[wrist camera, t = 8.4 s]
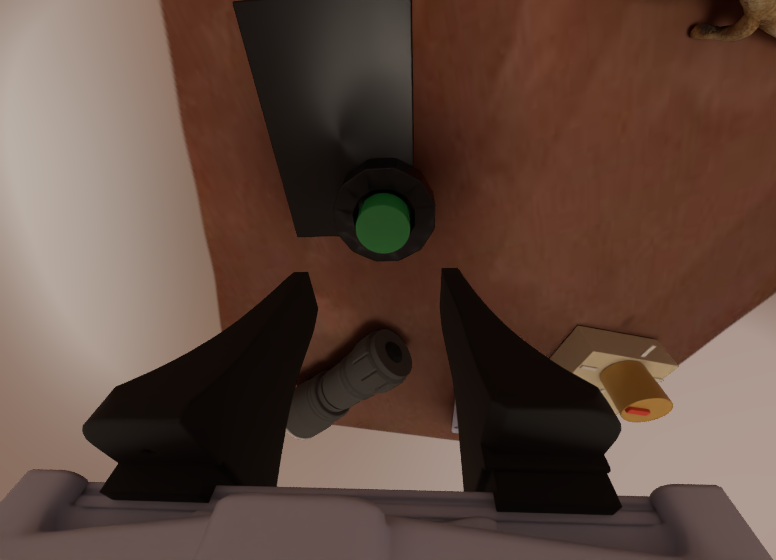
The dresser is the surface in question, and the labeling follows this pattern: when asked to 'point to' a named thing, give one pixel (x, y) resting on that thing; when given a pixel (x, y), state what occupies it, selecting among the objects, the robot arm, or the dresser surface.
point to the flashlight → (348, 383)
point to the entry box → (339, 110)
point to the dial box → (610, 355)
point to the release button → (383, 223)
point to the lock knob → (635, 392)
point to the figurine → (742, 23)
